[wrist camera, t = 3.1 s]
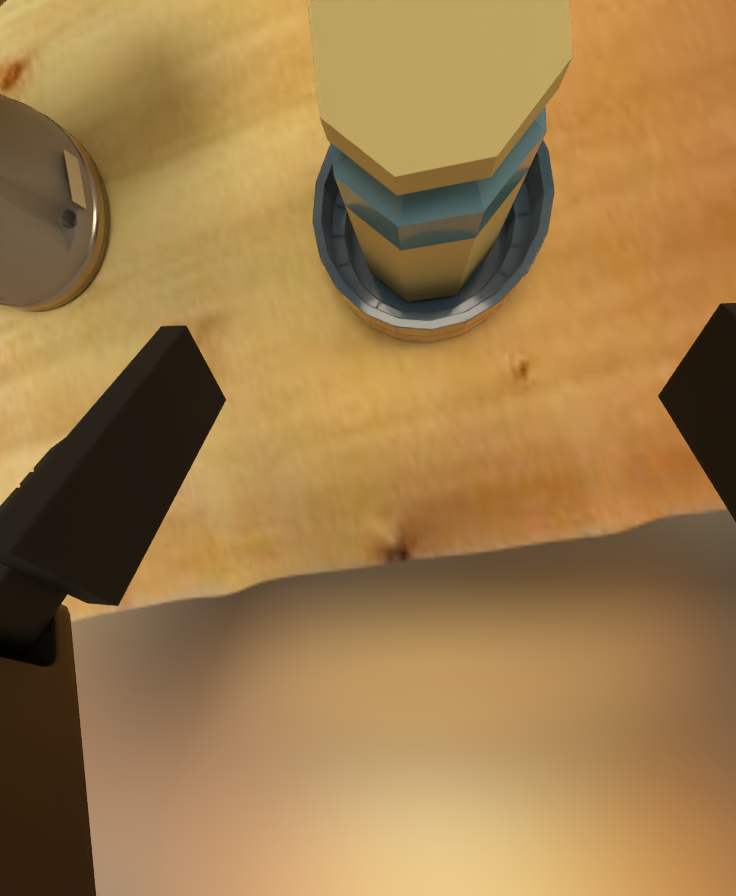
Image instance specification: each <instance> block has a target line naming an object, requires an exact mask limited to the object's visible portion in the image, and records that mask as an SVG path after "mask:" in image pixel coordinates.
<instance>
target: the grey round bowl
mask: <svg viewBox="0 0 736 896" xmlns="http://www.w3.org/2000/svg"><path fill="white" fill-rule="evenodd" d="M553 198H554V184H553V177H552V170H551V164H550V157H549V151H548V148H547V146H546V144H545V142H544V140H542V142H541V144H540V146H539V148H538V151H537V153H536V155H535V157H534V159H533V161H532V164H531V166H530V168H529V170H528V172H527V174H526V176H525V179H524V181H523V183H522V185H521V187H520V189H519V191H518V194H517V196H516V198H515V200H514V202H513V204H512V207H511V209H510V211H509V213H508V215H507V217H506V219H505V222H504V224H503V226H502V228H501V230H500V232H499V235H498V237H497V239H496V241H495V243H494V245H493V247H492V250H491V252H490V253H489V255H488V256H487V257H486V258H485V260H484V261H483V262H482V263H481V265H480V266H479V267H478V268H477V270H476V271H475V272H474V273H473V275H472V276H471V277H470V278H469V280H468V281H467V282H466V283H465V285H464V286H463V287H462V289H461V290H460V291H459V292H458V294H457V295H453V296H446V297H440V298H433V299H426V300H419V301H412V302H406V301H405V300H404V299H402V298H401V297H400V296H399V295H398V294H396V293H395V292H394V291H393V290H391V289H390V288H389V287H388V286H386V285H385V284H384V283H383V282H381V281H380V280H379V279H378V278H377V277H375V276H374V275H373V274H372V273H370V271H369V268H368V265H367V263H366V260H365V257H364V255H363V252H362V249H361V247H360V244H359V241H358V239H357V236H356V233H355V231H354V228H353V225H352V223H351V220H350V217H349V215H348V212H347V209H346V207H345V204H344V201H343V199H342V196H341V193H340V191H339V188H338V185H337V183H336V180H335V177H334V172H333V163H332V153H331V145H330V146H329V149H328V151H327V154H326V157H325V159H324V162H323V165H322V167H321V170H320V173H319V175H318V178H317V181H316V185H315V198H314V210H313V227H314V232H315V236H316V241H317V246H318V251H319V256H320V258H321V261H322V263H323V265H324V266H325V268H326V270H327V272H328V274H329V275H330V277H331V279H332V281H333V282H334V284H335V286H336V288H337V289H338V291H339V292H340V294H341V295H342V296H343V298H344V299H345V301H346V302H347V303H348V305H349V306H350V307H351V309H352V310H353V311H354V312H355V313H356V314H358V315H359V316H360V317H361V318H362V319H363V320H364V321H365V322H366V323H367V324H368V325H370V326H371V327H372V328H373V329H376V330H378V331H380V332H382V333H385V334H387V335H389V336H392V337H394V338H396V339H400V340H406V341H417V342H434V341H438V340H442V339H446V338H451V337H455V336H459V335H461V334H463V333H464V332H466V331H468V330H469V329H471V328H473V327H475V326H476V325H478V324H480V323H481V322H483V321H485V320H486V319H487V318H489V317H490V315H491V314H492V313H493V312H494V311H495V310H496V309H497V308H498V307H499V306H500V305H501V304H502V302H503V301H504V300H505V299H506V298H507V297H508V296H509V295H510V294H511V292H512V291H513V290H514V289H515V287H516V286H517V285H518V284H519V283H520V281H521V280H522V279H523V278H524V277H525V275H526V274H527V273H528V271H529V270H530V268H531V266H532V264H533V262H534V260H535V258H536V256H537V254H538V252H539V250H540V248H541V246H542V244H543V242H544V240H545V238H546V236H547V233H548V228H549V222H550V216H551V210H552V204H553Z"/></svg>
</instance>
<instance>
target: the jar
mask: <svg viewBox="0 0 736 896" xmlns="http://www.w3.org/2000/svg"><path fill="white" fill-rule="evenodd" d="M308 13H309V22H310V32H311V41H312V50H313V60H314V69H315V78H316V88H317V97H318V106H319V116H320V119H321V122H322V125H323V128H324V131H325V134H326V137H327V139H328V141H329V142H330V144H331V153H332V163H333V172H334V177H335V180H336V183H337V185H338V188H339V191H340V193H341V196H342V199H343V201H344V204H345V207H346V209H347V212H348V215H349V217H350V220H351V223H352V225H353V228H354V231H355V233H356V236H357V239H358V241H359V244H360V247H361V249H362V252H363V255H364V257H365V260H366V263H367V265H368V268H369V271H370V273H372V274H373V275H374V276H375V277H377V278H378V279H379V280H380V281H381V282H383V283H384V284H385V285H386V286H388V287H389V288H390V289H391V290H393V291H394V292H395V293H396V294H398V295H399V296H400V297H401V298H402V299H404V300H405V301H406V302H412V301H419V300H426V299H433V298H440V297H446V296H453V295H457V294H458V292H459V291H460V290H461V289H462V287H463V286H464V285H465V283H466V282H467V281H468V280H469V278H470V277H471V276H472V275H473V273H474V272H475V271H476V270H477V268H478V267H479V266H480V265H481V263H482V262H483V261H484V260H485V258H486V257H487V256H488V255H489V253H490V252H491V250H492V247H493V245H494V243H495V241H496V239H497V237H498V235H499V232H500V230H501V228H502V226H503V224H504V222H505V219H506V217H507V215H508V213H509V211H510V209H511V207H512V204H513V202H514V200H515V198H516V196H517V194H518V191H519V189H520V187H521V185H522V183H523V181H524V179H525V176H526V174H527V172H528V170H529V168H530V166H531V164H532V161H533V159H534V157H535V155H536V153H537V151H538V148H539V146H540V144H541V142H542V140H543V138H544V136H545V133H546V111H545V105H546V104H547V103H548V102H549V100H550V99H551V98H552V96H553V95H554V94H555V92H556V91H557V90H558V88H559V86H560V84H561V81H562V79H563V77H564V74H565V72H566V70H567V68H568V65H569V63H570V61H571V59H572V48H571V22H570V0H312V2H311V3H310V5H309V7H308Z"/></svg>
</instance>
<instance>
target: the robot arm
mask: <svg viewBox="0 0 736 896" xmlns="http://www.w3.org/2000/svg"><path fill="white" fill-rule="evenodd" d="M5 1H6V0H0V6H1V5H2V4H3V3H4V2H5ZM108 231H109V209H108V201H107V196H106V192H105V188H104V184H103V181H102V178H101V176H100V174H99V171H98V169H97V167H96V165H95V163H94V161H93V160H92V158H91V157H90V155H89V154H88V152H87V151H86V150H85V148H84V147H83V146H82V145H81V144H80V143H79V142H78V141H77V140H76V139H75V138H74V137H73V136H72V135H71V134H70V133H68V132H67V131H66V130H64V129H63V128H62V127H61V126H59V125H58V124H57V123H55V122H54V121H53V120H51V119H50V118H48V117H47V116H46V115H44V114H42V113H40V112H38V111H37V110H35V109H33V108H32V107H30V106H28V105H26V104H23V103H21V102H19V101H16V100H13V99H10V98H8V97H6V96H4V95H1V94H0V304H2V305H6V306H11V307H15V308H19V309H24V310H30V311H43V310H49V309H53V308H56V307H59V306H61V305H64V304H65V303H67V302H69V301H71V300H72V299H74V298H75V297H76V296H77V295H79V294H80V293H81V292H82V291H83V290H84V289H85V288H86V287H87V285H88V284H89V283H90V281H91V280H92V279H93V277H94V275H95V274H96V272H97V270H98V268H99V266H100V264H101V261H102V259H103V256H104V252H105V249H106V245H107V239H108ZM658 397H659V398H660V400H661V402H662V403H663V405H664V407H665V408H666V410H667V411H668V413H669V415H670V416H671V418H672V420H673V421H674V423H675V424H676V426H677V428H678V429H679V431H680V432H681V434H682V436H683V437H684V439H685V441H686V442H687V444H688V445H689V447H690V449H691V450H692V452H693V454H694V455H695V457H696V458H697V460H698V462H699V463H700V465H701V467H702V468H703V470H704V471H705V473H706V475H707V476H708V478H709V479H710V481H711V483H712V484H713V486H714V488H715V489H716V491H717V492H718V494H719V496H720V497H721V499H722V501H723V502H724V504H725V505H726V507H727V509H728V510H729V512H730V514H731V515H732V517H733V518H734V520H735V522H736V303H723V304H720V305H719V306H718V308H717V309H716V311H715V312H714V314H713V315H712V317H711V318H710V320H709V321H708V323H707V324H706V326H705V327H704V329H703V330H702V332H701V333H700V335H699V336H698V338H697V339H696V341H695V342H694V344H693V345H692V347H691V348H690V350H689V351H688V352H687V354H686V355H685V357H684V358H683V360H682V361H681V363H680V364H679V366H678V367H677V369H676V370H675V372H674V373H673V375H672V376H671V378H670V379H669V381H668V382H667V384H666V385H665V387H664V388H663V390H662V391H661V393H660V394H659V396H658ZM225 401H226V399H225V397H224V395H223V393H222V391H221V389H220V387H219V386H218V384H217V382H216V380H215V378H214V376H213V374H212V373H211V371H210V369H209V367H208V365H207V363H206V361H205V360H204V358H203V356H202V354H201V352H200V350H199V348H198V346H197V345H196V343H195V341H194V339H193V337H192V335H191V333H190V332H189V330H188V328H187V326H162V327H160V329H159V330H158V331H157V332H156V333H155V334H154V336H153V337H152V338H151V339H150V340H149V341H148V343H147V344H146V345H145V346H144V347H143V348H142V350H141V351H140V352H139V353H138V354H137V355H136V357H135V358H134V359H133V360H132V361H131V362H130V363H129V365H128V366H127V367H126V368H125V369H124V370H123V372H122V373H121V374H120V375H119V376H118V377H117V379H116V380H115V381H114V382H113V383H112V384H111V386H110V387H109V388H108V389H107V390H106V391H105V393H104V394H103V395H102V396H101V397H100V398H99V400H98V401H97V402H96V403H95V404H94V405H93V407H92V408H91V409H90V410H89V411H88V412H87V414H86V415H85V416H84V417H83V418H82V419H81V421H80V422H79V423H78V424H77V425H76V426H75V427H74V429H73V430H72V431H71V432H70V433H69V434H68V436H67V437H66V438H64V439H63V440H62V441H60V442H59V443H58V444H56V445H55V446H54V447H52V448H51V449H50V450H49V451H48V452H47V453H46V454H45V456H44V457H43V458H42V459H41V460H40V461H39V462H38V464H37V465H36V466H35V467H34V468H33V469H34V472H30V473H29V474H28V475H27V476H26V477H25V478H24V480H23V481H22V482H21V483H20V485H21V486H20V488H16V489H15V490H14V491H13V492H12V493H11V494H10V496H9V497H8V498H7V499H6V500H5V501H4V503H3V504H2V505H1V506H0V896H96V890H95V879H94V868H93V858H92V847H91V837H90V827H89V814H88V803H87V793H86V782H85V772H84V760H83V749H82V738H81V728H80V718H79V706H78V696H77V685H76V673H75V663H74V652H73V641H72V630H71V619H70V613H69V611H68V608H67V607H66V606H64V605H62V604H61V603H62V602H63V600H64V599H65V597H66V595H67V594H68V595H70V596H73V597H75V598H77V599H79V600H81V601H84V602H86V603H91V604H102V605H114V606H118V605H119V603H120V601H121V599H122V597H123V596H124V594H125V592H126V590H127V588H128V586H129V584H130V582H131V580H132V578H133V576H134V575H135V573H136V571H137V569H138V567H139V565H140V563H141V561H142V559H143V557H144V555H145V554H146V552H147V550H148V548H149V546H150V544H151V542H152V540H153V538H154V536H155V534H156V533H157V531H158V529H159V527H160V525H161V523H162V521H163V519H164V517H165V515H166V513H167V512H168V510H169V508H170V506H171V504H172V502H173V500H174V498H175V496H176V494H177V492H178V491H179V489H180V487H181V485H182V483H183V481H184V479H185V477H186V475H187V473H188V471H189V470H190V468H191V466H192V464H193V462H194V460H195V458H196V456H197V454H198V452H199V450H200V449H201V447H202V445H203V443H204V441H205V439H206V437H207V435H208V433H209V431H210V429H211V428H212V426H213V424H214V422H215V420H216V418H217V416H218V414H219V412H220V410H221V408H222V407H223V405H224V403H225Z"/></svg>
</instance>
